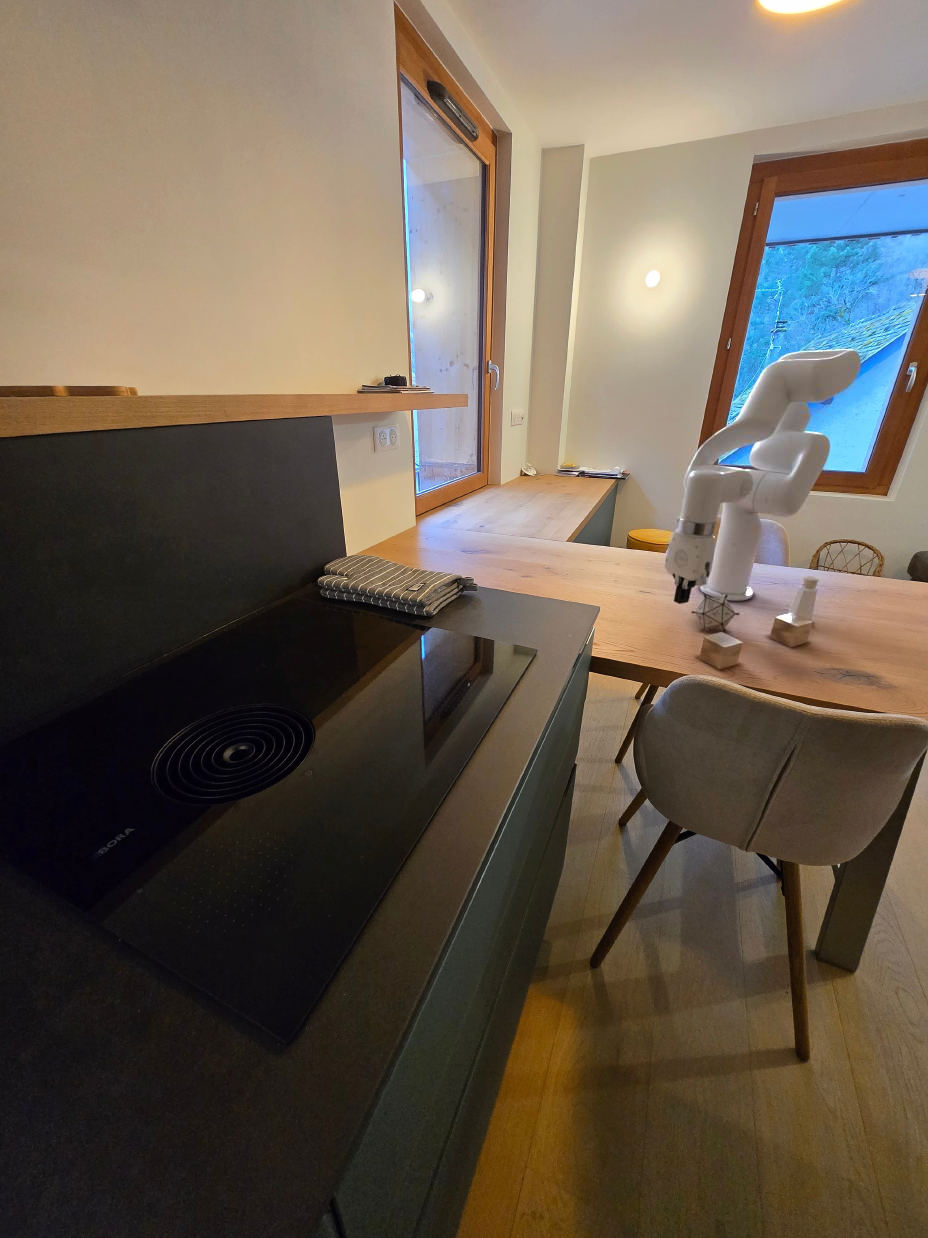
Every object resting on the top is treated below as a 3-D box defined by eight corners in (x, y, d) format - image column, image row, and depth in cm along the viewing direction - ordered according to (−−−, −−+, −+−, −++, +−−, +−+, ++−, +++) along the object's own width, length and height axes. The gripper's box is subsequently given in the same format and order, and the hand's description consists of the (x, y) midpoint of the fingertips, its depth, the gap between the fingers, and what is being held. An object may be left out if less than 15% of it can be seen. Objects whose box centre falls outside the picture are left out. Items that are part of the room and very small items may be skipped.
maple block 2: (769, 637, 108) (775, 617, 106) (784, 633, 110) (790, 612, 108) (790, 647, 104) (797, 626, 102) (806, 642, 106) (813, 621, 104)
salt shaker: (803, 629, 112) (818, 584, 107) (779, 620, 116) (792, 576, 111) (816, 623, 114) (830, 578, 110) (791, 614, 119) (804, 571, 114)
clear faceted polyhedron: (714, 646, 113) (735, 627, 104) (680, 627, 115) (697, 606, 106) (731, 618, 116) (752, 597, 107) (697, 600, 118) (714, 578, 109)
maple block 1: (698, 658, 101) (703, 636, 99) (716, 652, 103) (721, 631, 101) (719, 669, 97) (724, 647, 95) (737, 664, 99) (743, 642, 96)
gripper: (659, 521, 116) (646, 593, 124) (711, 537, 103) (693, 616, 111) (683, 518, 118) (669, 589, 126) (736, 533, 106) (717, 611, 114)
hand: (680, 601), depth 119 cm, fingers closed
